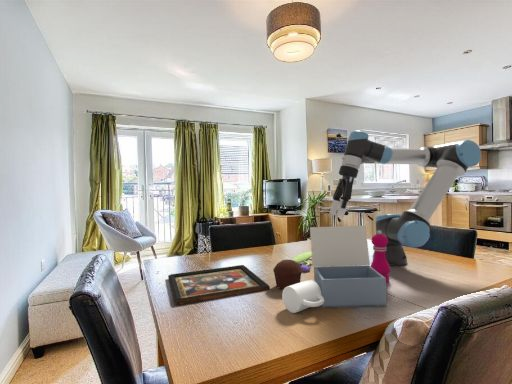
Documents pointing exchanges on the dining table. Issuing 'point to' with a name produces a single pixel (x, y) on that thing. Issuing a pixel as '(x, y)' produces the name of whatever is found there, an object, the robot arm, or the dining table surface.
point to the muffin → (287, 273)
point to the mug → (302, 296)
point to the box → (351, 286)
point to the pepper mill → (380, 255)
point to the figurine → (304, 260)
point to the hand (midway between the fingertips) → (335, 215)
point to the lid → (339, 246)
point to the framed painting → (214, 284)
